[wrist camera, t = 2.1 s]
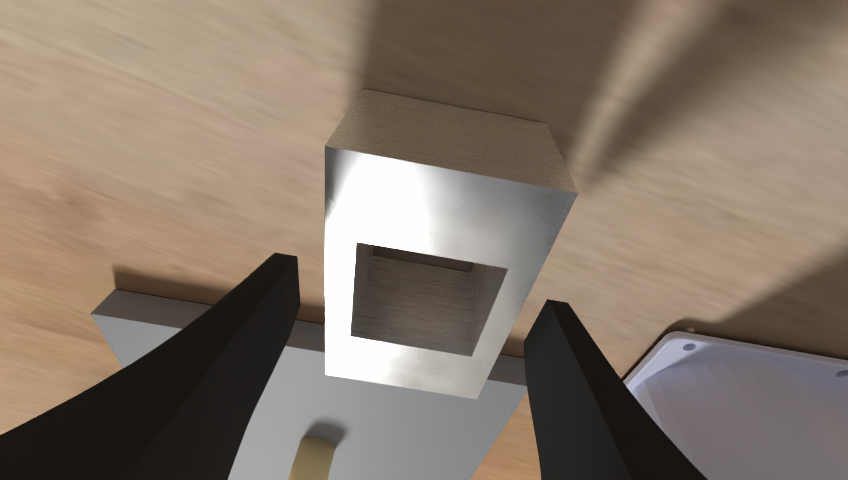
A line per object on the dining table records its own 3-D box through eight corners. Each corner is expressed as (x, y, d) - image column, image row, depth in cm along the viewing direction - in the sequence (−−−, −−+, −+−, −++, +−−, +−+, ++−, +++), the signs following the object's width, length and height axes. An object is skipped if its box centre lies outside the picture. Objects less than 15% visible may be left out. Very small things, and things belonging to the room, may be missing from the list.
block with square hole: (546, 124, 11) (578, 193, 8) (474, 315, 17) (476, 399, 14) (363, 88, 11) (324, 146, 8) (350, 293, 17) (325, 374, 14)
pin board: (525, 358, 19) (537, 442, 16) (445, 497, 31) (443, 559, 28) (114, 289, 18) (41, 363, 15) (201, 459, 30) (171, 519, 27)
